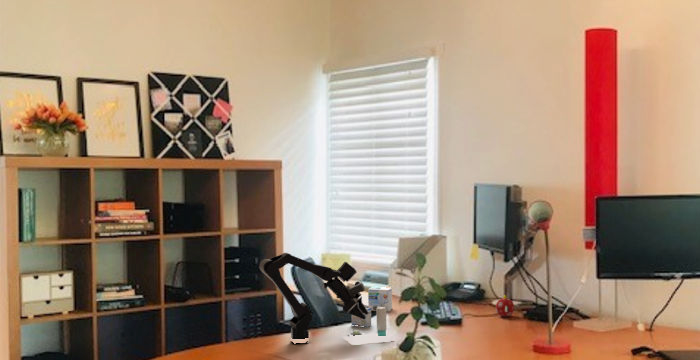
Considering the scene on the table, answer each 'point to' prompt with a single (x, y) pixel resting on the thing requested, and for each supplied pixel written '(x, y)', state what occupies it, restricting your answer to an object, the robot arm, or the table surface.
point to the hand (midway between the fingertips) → (366, 316)
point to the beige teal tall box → (381, 321)
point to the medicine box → (360, 321)
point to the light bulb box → (380, 298)
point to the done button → (356, 332)
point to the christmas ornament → (505, 307)
